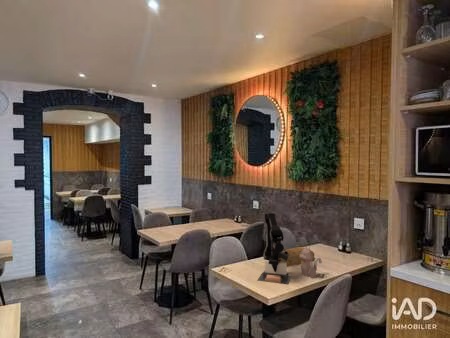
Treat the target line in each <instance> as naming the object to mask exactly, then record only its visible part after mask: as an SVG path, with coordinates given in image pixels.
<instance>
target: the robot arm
mask: <svg viewBox="0 0 450 338" xmlns="http://www.w3.org/2000/svg"><path fill="white" fill-rule="evenodd" d="M262 217H263V220H264V221H263V222H264V224H265V226H266V246H265V248H264V251H263V255H262V257H263V260H264V261H265V260H269V264H271V265H272V267H273V269H274V272H276V270H277V265H278V264H279V263H280V261H281V259H280V258H282V259H284V260H285V261H287V259H288V257H289V254H288V252H287V251H285V250H284V244H283V243H282V241H283V242H284V239H285V236H284V232H283V230H282V229H281V227H280V226H279V225H278V223H277V215H276V213H275V212H266V213H265V212H264V214H263V215H262ZM284 251H285V252H284Z"/></svg>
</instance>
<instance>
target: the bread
mask: <svg viewBox="0 0 450 338" xmlns="http://www.w3.org/2000/svg"><path fill="white" fill-rule="evenodd" d="M304 248H305V247H302V246H299V247H293V248H287V249H285V250H283V252H285V251H287V252H288V254H289V257H288V259H287V261H285V260H284V259H282V258H280V259H281V261H280V262H287V267H291V266H296V265H301V258H300V257H299V255H300V253H301V251H303V250H304ZM311 253H312V256H313V259H312V262H314V260H315V252H314V251H313V250H311Z"/></svg>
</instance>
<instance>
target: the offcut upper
mask: <svg viewBox="0 0 450 338" xmlns="http://www.w3.org/2000/svg"><path fill="white" fill-rule="evenodd" d="M266 280H277V281H280V276H278V275H267V277H266Z"/></svg>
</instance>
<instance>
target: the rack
mask: <svg viewBox="0 0 450 338" xmlns="http://www.w3.org/2000/svg"><path fill="white" fill-rule="evenodd" d="M267 275H278V276H280V278H282V281H281V284H280V283H278V284H280V285H286V286H287V285H288V286H289V285H290V282H291V279H292V275H289V272H286V275H282V274H274V273H266V272H265V269H264V271H263V272H262V273H261V274H260V276H259V277H258V278H257V280H256V281H259V282H264V283H266V282H265V278H266V276H267ZM270 283H272V282H270Z"/></svg>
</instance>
